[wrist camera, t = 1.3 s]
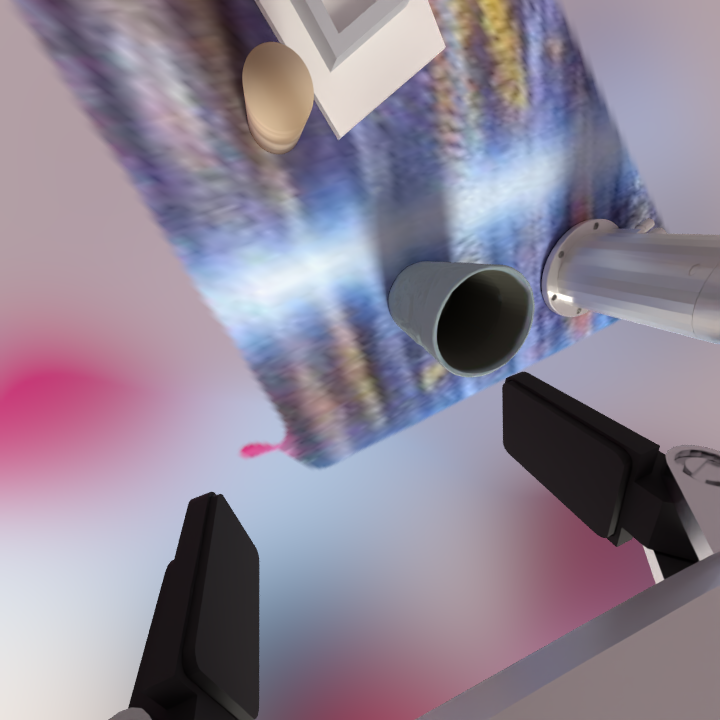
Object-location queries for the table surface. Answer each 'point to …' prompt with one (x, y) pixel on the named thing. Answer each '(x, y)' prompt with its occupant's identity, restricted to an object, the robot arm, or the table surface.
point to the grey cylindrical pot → (464, 313)
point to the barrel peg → (276, 96)
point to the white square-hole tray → (355, 49)
